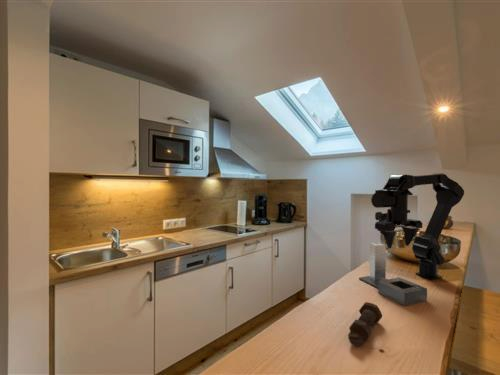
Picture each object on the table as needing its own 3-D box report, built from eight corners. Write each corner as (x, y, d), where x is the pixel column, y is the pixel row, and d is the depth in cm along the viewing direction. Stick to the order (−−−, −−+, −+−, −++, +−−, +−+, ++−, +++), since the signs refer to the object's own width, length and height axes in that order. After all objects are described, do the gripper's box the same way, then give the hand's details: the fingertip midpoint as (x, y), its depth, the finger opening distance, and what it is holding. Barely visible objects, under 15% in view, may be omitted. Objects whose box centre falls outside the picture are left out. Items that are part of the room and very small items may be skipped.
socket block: (399, 288, 91) (399, 277, 91) (426, 300, 81) (427, 288, 81) (377, 292, 87) (378, 281, 87) (404, 306, 78) (404, 293, 78)
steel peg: (380, 278, 98) (380, 242, 98) (385, 282, 94) (385, 245, 94) (369, 278, 98) (370, 242, 98) (374, 282, 94) (375, 245, 94)
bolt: (351, 354, 60) (368, 323, 71) (371, 352, 57) (385, 320, 68) (339, 329, 61) (357, 303, 73) (357, 326, 58) (374, 299, 70)
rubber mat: (376, 276, 102) (376, 274, 102) (396, 284, 94) (396, 283, 94) (358, 279, 99) (358, 277, 99) (377, 288, 91) (377, 286, 91)
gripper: (398, 204, 108) (397, 240, 109) (364, 205, 102) (363, 244, 102) (423, 206, 98) (422, 246, 98) (387, 208, 91) (387, 251, 92)
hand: (398, 246), depth 98 cm, fingers open, 9 cm apart
